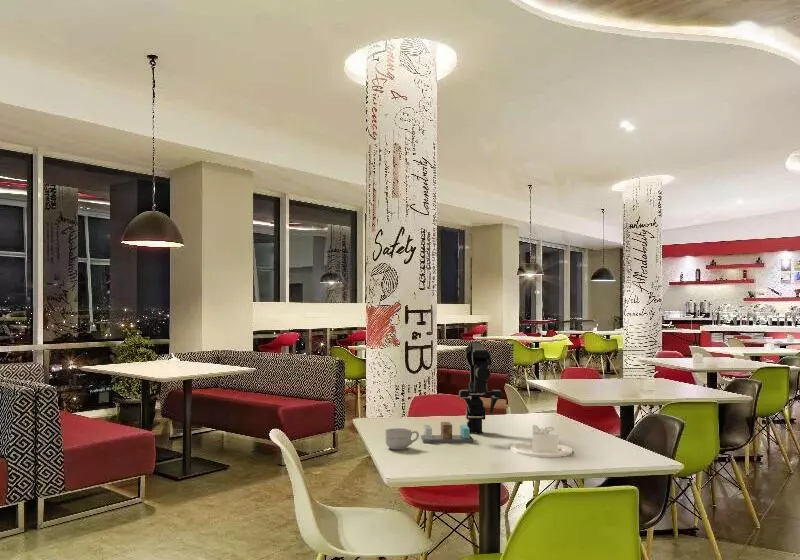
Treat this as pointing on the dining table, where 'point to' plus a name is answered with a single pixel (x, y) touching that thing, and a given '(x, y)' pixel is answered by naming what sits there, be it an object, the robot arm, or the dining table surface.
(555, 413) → the dining table surface
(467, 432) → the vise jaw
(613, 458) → the dining table surface
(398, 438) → the teacup
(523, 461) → the dining table surface
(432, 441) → the vise base
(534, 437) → the dish
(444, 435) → the brown rectangular block
